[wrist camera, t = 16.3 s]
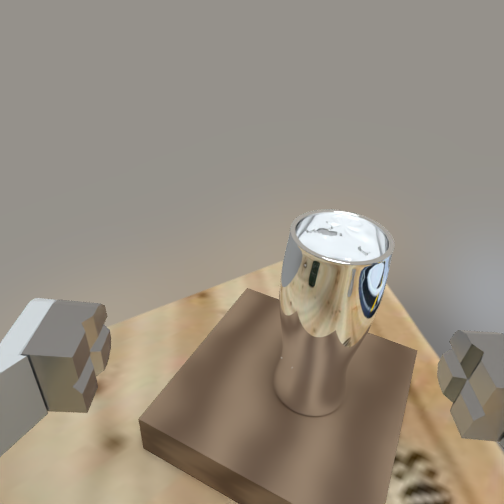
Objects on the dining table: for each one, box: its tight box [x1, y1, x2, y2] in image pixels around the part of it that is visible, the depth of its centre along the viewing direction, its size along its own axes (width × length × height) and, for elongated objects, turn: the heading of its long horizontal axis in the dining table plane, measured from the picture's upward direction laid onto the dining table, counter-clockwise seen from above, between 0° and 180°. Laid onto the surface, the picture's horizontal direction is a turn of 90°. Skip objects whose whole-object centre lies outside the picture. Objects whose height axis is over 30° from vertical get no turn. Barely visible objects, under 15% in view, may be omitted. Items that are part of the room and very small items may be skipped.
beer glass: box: [273, 209, 394, 416], centre depth 30 cm, size 7×7×15 cm
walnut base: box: [139, 288, 417, 504], centre depth 35 cm, size 18×18×4 cm
